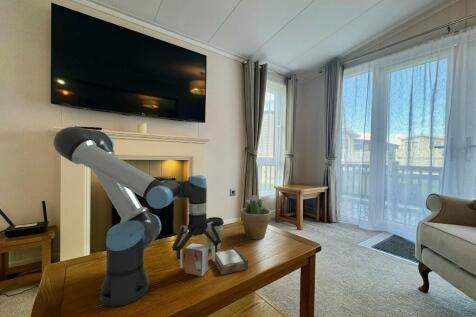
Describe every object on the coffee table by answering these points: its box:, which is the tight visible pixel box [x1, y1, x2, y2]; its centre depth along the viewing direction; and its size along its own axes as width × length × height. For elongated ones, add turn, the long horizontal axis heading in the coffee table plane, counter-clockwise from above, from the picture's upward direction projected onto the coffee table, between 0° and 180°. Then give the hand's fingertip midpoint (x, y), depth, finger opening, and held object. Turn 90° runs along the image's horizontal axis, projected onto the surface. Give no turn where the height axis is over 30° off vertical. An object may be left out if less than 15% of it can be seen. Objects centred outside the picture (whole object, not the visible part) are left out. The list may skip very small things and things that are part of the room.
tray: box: [214, 246, 249, 275], centre depth 94 cm, size 12×14×4 cm
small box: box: [184, 242, 209, 277], centre depth 87 cm, size 8×6×10 cm
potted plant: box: [240, 194, 272, 241], centre depth 127 cm, size 18×19×25 cm
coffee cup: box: [206, 216, 225, 251], centre depth 110 cm, size 10×10×15 cm
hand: (197, 263), depth 87 cm, fingers open, 13 cm apart
